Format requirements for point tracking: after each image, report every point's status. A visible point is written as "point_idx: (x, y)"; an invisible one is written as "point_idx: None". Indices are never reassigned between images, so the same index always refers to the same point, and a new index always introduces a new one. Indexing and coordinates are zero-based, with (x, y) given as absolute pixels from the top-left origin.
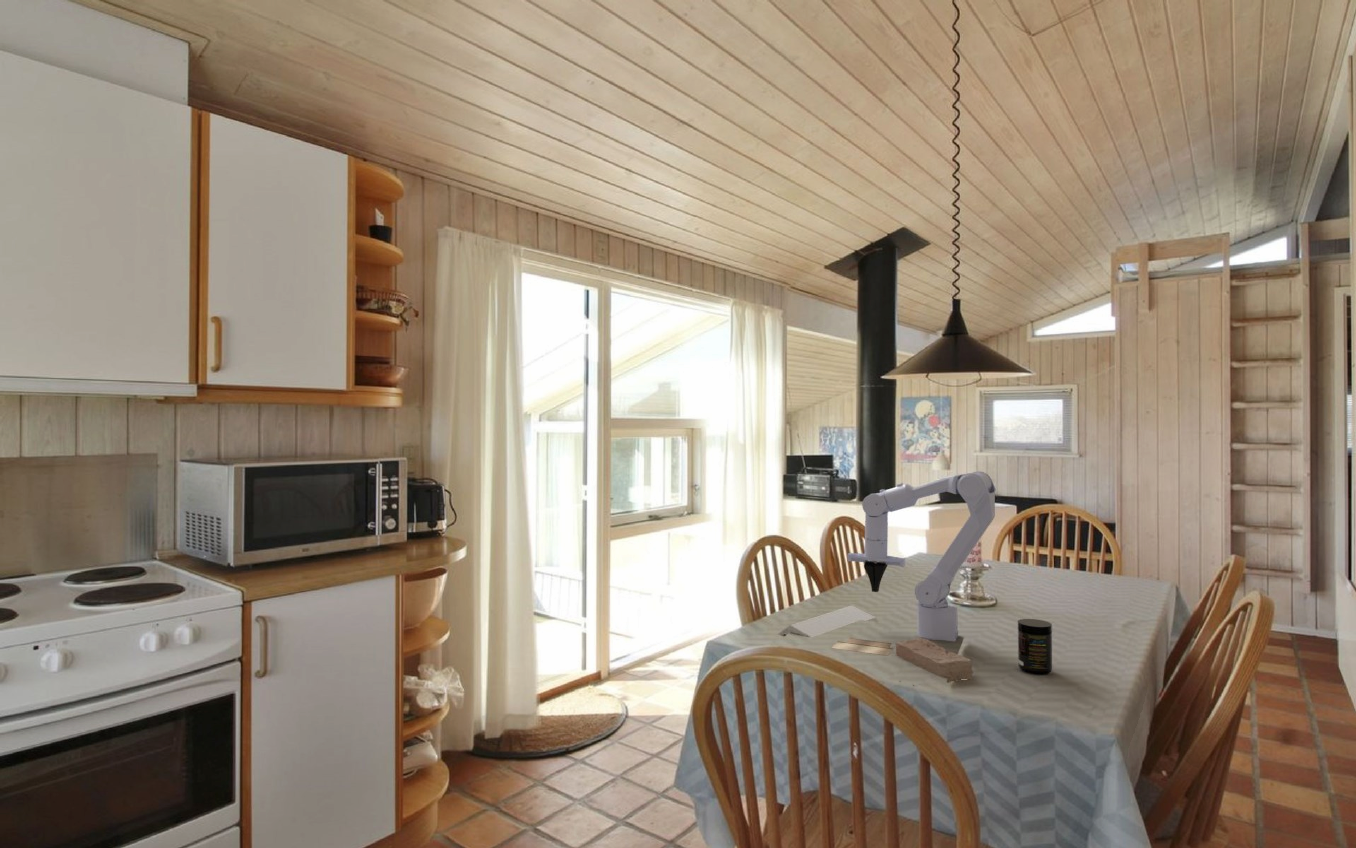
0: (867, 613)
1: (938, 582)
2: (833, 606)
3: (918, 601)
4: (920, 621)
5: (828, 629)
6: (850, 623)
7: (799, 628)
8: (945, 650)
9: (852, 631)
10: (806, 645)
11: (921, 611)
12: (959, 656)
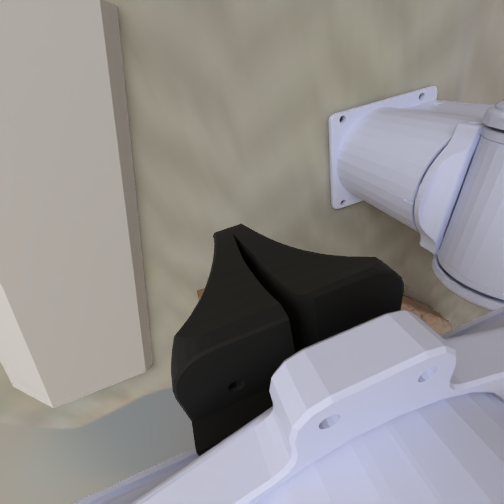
0: None
1: None
2: None
3: (423, 216)
4: (380, 209)
5: (116, 315)
6: (109, 209)
7: (81, 391)
8: (420, 317)
9: (144, 231)
10: (144, 383)
11: (408, 226)
12: (439, 328)
